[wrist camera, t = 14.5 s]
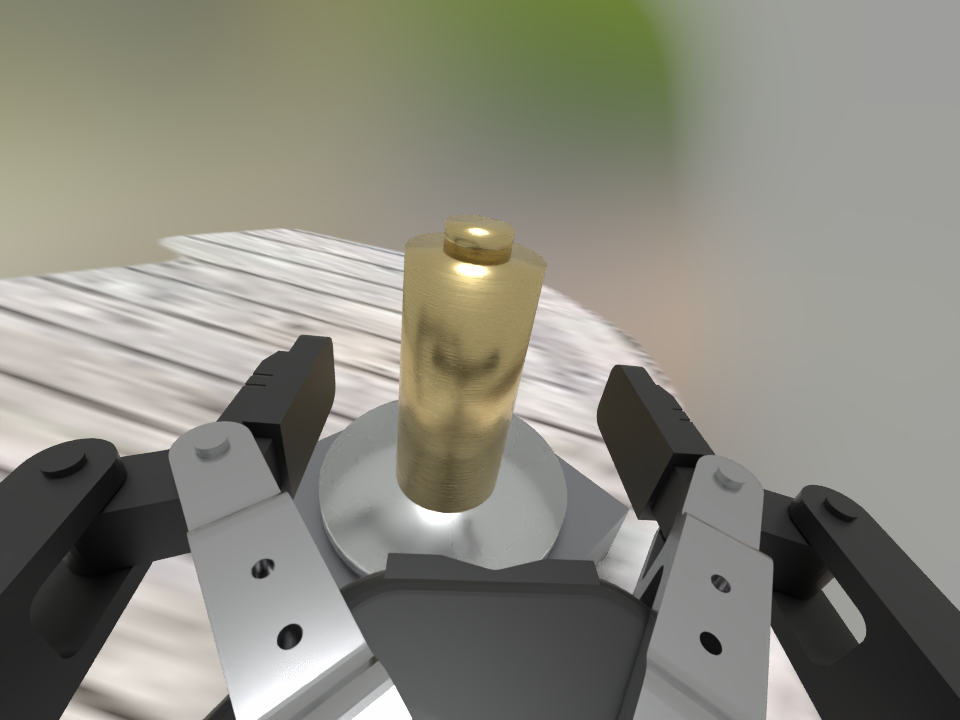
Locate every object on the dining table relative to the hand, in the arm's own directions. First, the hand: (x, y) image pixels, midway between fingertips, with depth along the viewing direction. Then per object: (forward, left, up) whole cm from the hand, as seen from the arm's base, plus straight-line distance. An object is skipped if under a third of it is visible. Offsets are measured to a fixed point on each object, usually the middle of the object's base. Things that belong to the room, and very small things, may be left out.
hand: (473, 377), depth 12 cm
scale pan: (+3, +3, -10) cm, 11 cm away
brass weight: (+3, +3, -9) cm, 10 cm away
